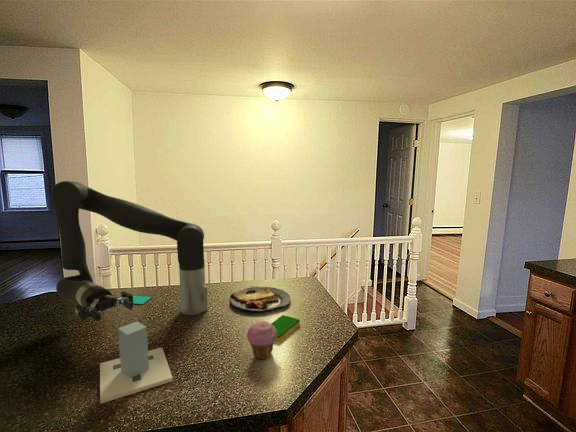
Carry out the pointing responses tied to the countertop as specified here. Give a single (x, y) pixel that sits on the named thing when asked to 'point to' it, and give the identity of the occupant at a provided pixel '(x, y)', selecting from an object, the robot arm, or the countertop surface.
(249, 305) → the food plate
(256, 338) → the cupcake
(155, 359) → the board
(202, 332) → the countertop surface
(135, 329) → the grey rectangular block
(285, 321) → the dish sponge
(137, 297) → the smartphone
